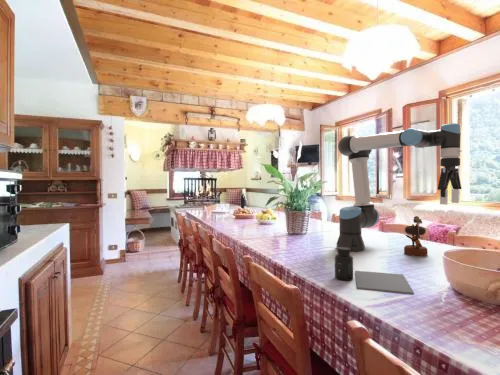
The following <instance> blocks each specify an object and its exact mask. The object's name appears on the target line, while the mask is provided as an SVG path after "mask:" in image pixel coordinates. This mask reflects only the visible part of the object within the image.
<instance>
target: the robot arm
mask: <svg viewBox="0 0 500 375" xmlns="http://www.w3.org/2000/svg"><path fill="white" fill-rule="evenodd" d="M461 134H462V133H461V124H460V123H445V124H441V126H440V129H437V130H428V131H427V130H424V129H418V128H415V127H414V128H407V129H405V130H399V131H392V132H384V133H378V134H371V135H370V134H369V135H363V136H358V135H346V136H344V137H342V138H341V139H340V140H339V142H338V145H337V149H338V152H339V153H340V154H341V155H343V156H346V157H347V158H348V162H349V163H351V170H352V182H353V189H354V199H355V200H354V201H355V203H354V204H353V206H352V205H351V206H344V207H341V208H340V209H339V215H338V217H339V236H338V238H337V241H336V249H337V248H338V247H348V248H350V252H362V251H365V250H366V246H365V245H366V244H365V241H364V240H363V237H362V229H365V228H366V229H367V228H371V227H375V225H377V224H378V223H379V220H380V214H379V211H378V210H377V209H376V208H375V204H374V203H373V202H372V200H371V190H370V181H369V180H370V179H369V171H368V170H369V169H368V168H369V167H368V161H369V159H370V154H371V153H372V151H373V150H380V149H389V148H390V149H391V148H398V147H413V146H414V147H415V148H418V149H419V148H421V149H424V148H430V147H440V150H439V151H440V154H439V155H440V156H439V157H440V161H439V162H440V164H439V165H440V167H441V169H440V175H439V181H438V184H437V190H438V191H439V193H440V194H439V205H444V206H446V205H448V200H449V199H448V198H449V197H448V193H449V192H448V186H449V183H450V184H451V187H452V189H451V203H453V204H460V202H459V201H460V190H462V184H461V179H460V173H459V171H460V170H459V166H461V158H460V157H461V152H462V149H461V138H462V137H461ZM456 167H458V168H456Z"/></svg>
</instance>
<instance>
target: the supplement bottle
mask: <svg viewBox="0 0 500 375" xmlns="http://www.w3.org/2000/svg"><path fill="white" fill-rule="evenodd" d="M336 250H337V252H336V254H335V256H334V277H335V279H336V280H338V281H340V280H341V282H351V281H353V279H354V257H353V255H351V251H350V248H348V247H338V248H337V247H336Z"/></svg>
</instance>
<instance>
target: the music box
mask: <svg viewBox="0 0 500 375" xmlns="http://www.w3.org/2000/svg"><path fill="white" fill-rule="evenodd" d="M419 224H423V221H422V219H421V218H420V216H418V215H415V216H414V217H413V223H412V224H411V225H406V227H405V228H404V232H405V233H406V234H405V236H406V237H407V238H408V239H410V240H411V243H412V244H407V245H404V247H403V253H404V254H405V255H406V256H407V255H408V256H411V257H421V258H422V257H427V256H428V248H427V247H426V246H423V244H422V243H421V241H420V239H421V236H423V235H425V234H426V228H425V227H424V226H420V225H419ZM410 235H411V236H410Z"/></svg>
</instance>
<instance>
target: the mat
mask: <svg viewBox="0 0 500 375" xmlns="http://www.w3.org/2000/svg"><path fill="white" fill-rule="evenodd" d="M354 274H355V280H356V281H355V282H356V289H357V290H367V291H377V292H378V291H379V292H389V293H396V294H397V293H398V294H399V293H400V294H410V295H415V292H414V290H413V288H412V287H411V285H410V284H409V281H408V280H407V279H406V277H405V275H404V274H402V273H391V272H378V271H365V270H363V271H361V270H355V272H354Z"/></svg>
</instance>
